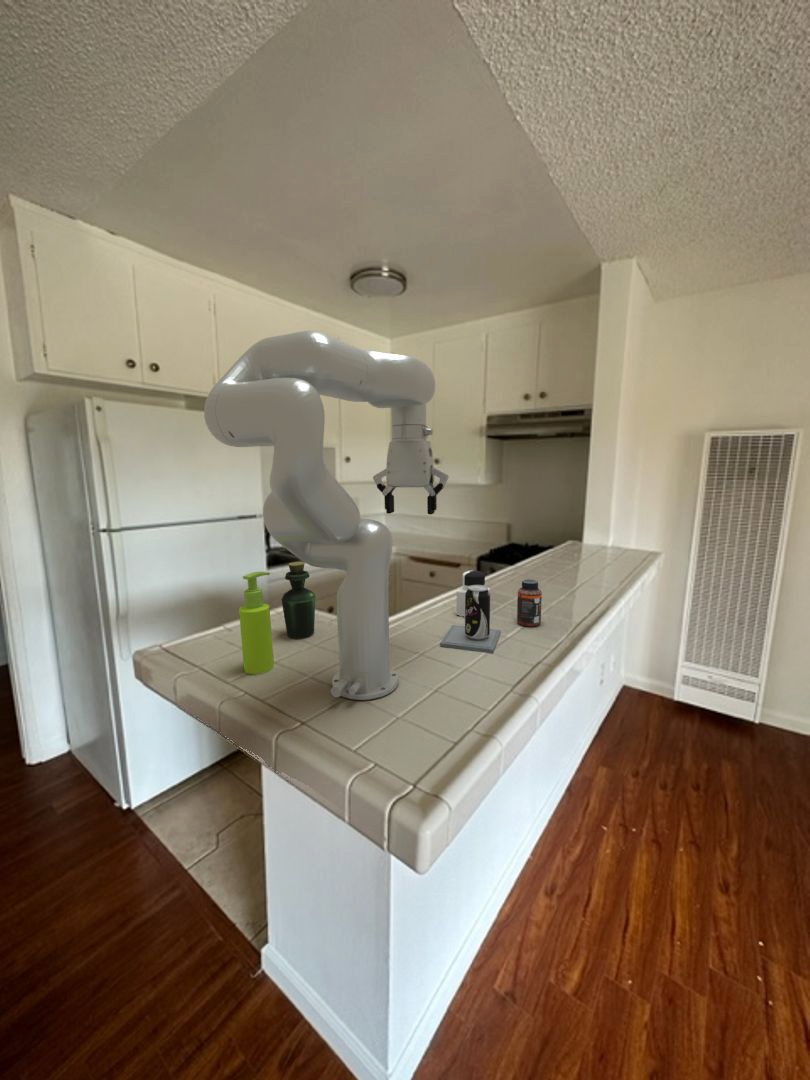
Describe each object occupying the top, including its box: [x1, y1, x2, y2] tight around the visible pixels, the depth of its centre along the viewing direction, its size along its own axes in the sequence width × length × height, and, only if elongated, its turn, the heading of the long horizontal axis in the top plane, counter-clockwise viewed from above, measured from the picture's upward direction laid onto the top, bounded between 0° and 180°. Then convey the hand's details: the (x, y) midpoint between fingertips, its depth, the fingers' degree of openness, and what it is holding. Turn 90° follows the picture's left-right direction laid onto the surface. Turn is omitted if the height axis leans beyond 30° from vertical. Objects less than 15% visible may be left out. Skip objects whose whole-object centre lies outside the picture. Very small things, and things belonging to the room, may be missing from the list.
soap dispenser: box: [238, 571, 275, 675], centre depth 90 cm, size 6×7×20 cm
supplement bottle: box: [516, 578, 543, 628], centre depth 112 cm, size 6×6×11 cm
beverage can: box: [464, 585, 491, 640], centre depth 102 cm, size 6×6×12 cm
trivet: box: [439, 624, 502, 654], centre depth 103 cm, size 12×12×1 cm
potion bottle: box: [281, 561, 316, 640], centre depth 107 cm, size 8×8×18 cm
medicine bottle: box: [456, 570, 491, 618], centre depth 120 cm, size 7×7×12 cm
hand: (410, 513), depth 98 cm, fingers open, 9 cm apart
